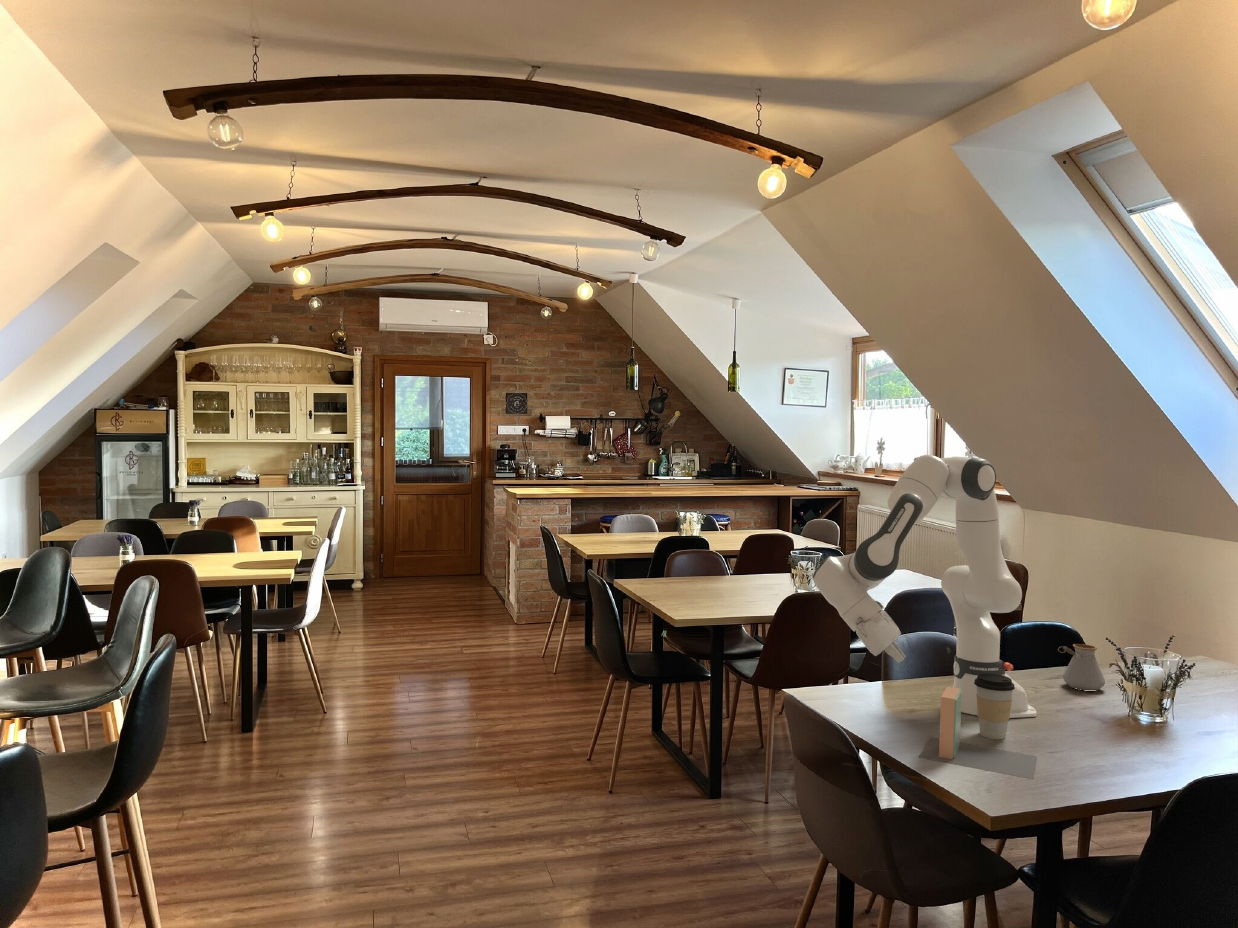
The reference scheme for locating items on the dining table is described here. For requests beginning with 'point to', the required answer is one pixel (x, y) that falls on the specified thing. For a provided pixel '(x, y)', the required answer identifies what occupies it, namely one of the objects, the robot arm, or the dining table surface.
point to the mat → (984, 759)
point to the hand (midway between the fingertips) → (902, 660)
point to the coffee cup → (993, 704)
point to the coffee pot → (1083, 668)
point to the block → (950, 722)
